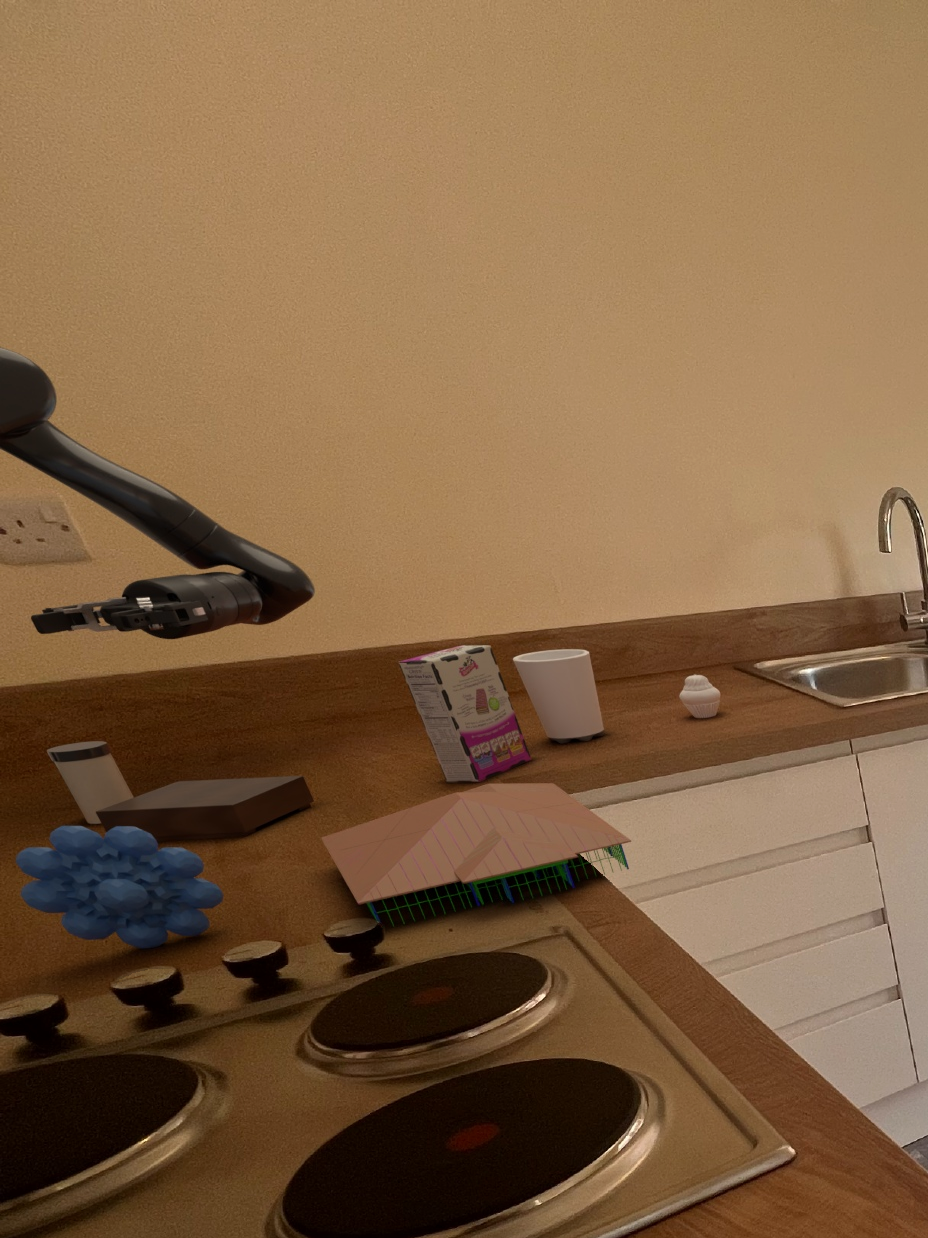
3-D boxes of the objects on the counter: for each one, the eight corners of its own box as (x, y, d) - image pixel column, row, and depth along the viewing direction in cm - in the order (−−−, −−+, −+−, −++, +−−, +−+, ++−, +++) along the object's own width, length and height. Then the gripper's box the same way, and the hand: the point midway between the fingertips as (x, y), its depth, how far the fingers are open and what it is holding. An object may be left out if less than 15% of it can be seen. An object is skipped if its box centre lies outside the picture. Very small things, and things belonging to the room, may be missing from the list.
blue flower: (60, 983, 88) (-21, 851, 83) (65, 958, 93) (-11, 831, 87) (242, 942, 96) (179, 818, 90) (239, 920, 100) (179, 801, 95)
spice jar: (74, 825, 126) (33, 753, 122) (109, 812, 130) (71, 742, 126) (121, 823, 127) (82, 750, 122) (154, 810, 131) (117, 740, 127)
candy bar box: (499, 760, 150) (458, 644, 143) (533, 760, 150) (493, 644, 143) (442, 783, 140) (395, 659, 133) (478, 783, 140) (433, 659, 133)
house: (377, 944, 95) (340, 861, 91) (327, 856, 116) (296, 785, 112) (648, 875, 109) (626, 801, 106) (561, 808, 130) (540, 744, 127)
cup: (596, 727, 168) (572, 646, 162) (625, 736, 163) (601, 653, 157) (528, 740, 161) (500, 656, 155) (556, 749, 156) (528, 663, 150)
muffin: (700, 711, 178) (689, 669, 174) (733, 712, 177) (723, 670, 174) (676, 720, 172) (665, 677, 169) (710, 721, 171) (699, 678, 168)
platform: (112, 844, 120) (94, 811, 118) (193, 812, 130) (177, 781, 128) (248, 837, 122) (232, 804, 120) (316, 805, 132) (303, 775, 130)
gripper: (108, 577, 137) (-8, 593, 123) (228, 574, 139) (128, 589, 125) (137, 636, 141) (27, 657, 126) (254, 632, 143) (159, 653, 128)
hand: (77, 623), depth 126 cm, fingers open, 8 cm apart
